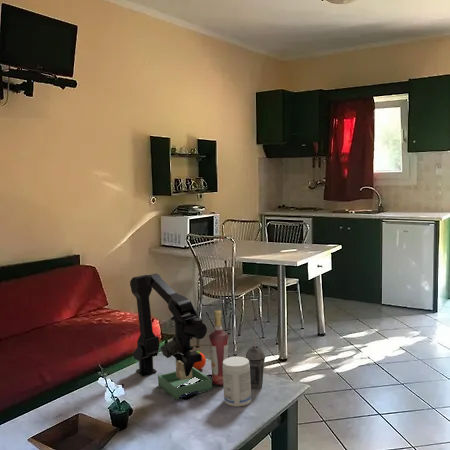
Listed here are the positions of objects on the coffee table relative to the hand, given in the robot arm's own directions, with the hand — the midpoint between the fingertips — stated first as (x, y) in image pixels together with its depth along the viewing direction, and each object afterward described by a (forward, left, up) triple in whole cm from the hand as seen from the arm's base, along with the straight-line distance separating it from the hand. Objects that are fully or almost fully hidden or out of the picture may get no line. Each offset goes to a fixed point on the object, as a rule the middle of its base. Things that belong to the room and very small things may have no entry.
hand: (184, 373), depth 193 cm
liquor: (+4, +13, -6) cm, 15 cm away
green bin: (0, 0, -5) cm, 5 cm away
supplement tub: (+21, +10, -6) cm, 24 cm away
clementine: (-14, +13, -6) cm, 20 cm away
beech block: (0, 0, -1) cm, 1 cm away
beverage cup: (+15, +22, -6) cm, 27 cm away
